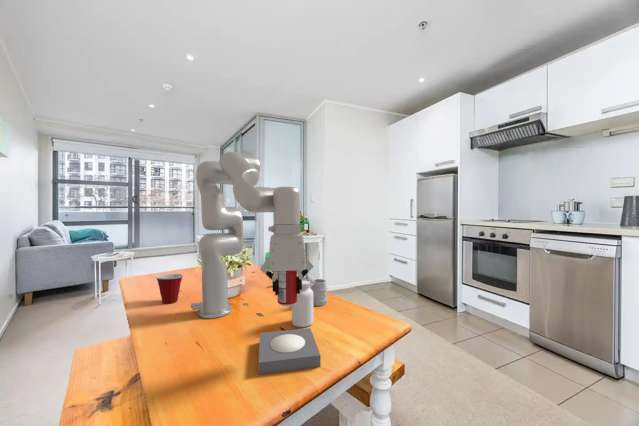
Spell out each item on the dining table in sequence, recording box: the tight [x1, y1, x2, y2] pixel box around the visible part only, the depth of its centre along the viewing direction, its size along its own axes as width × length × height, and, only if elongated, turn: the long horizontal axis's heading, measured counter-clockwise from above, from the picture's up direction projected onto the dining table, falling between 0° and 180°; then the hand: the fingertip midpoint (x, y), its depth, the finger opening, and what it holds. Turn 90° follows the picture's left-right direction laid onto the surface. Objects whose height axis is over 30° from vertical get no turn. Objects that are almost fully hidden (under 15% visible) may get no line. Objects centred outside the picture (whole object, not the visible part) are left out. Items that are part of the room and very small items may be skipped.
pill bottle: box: [291, 279, 314, 328], centre depth 96 cm, size 8×8×15 cm
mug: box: [306, 278, 329, 307], centre depth 114 cm, size 8×12×12 cm, turn 132°
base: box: [258, 327, 322, 375], centre depth 76 cm, size 16×16×3 cm
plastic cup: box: [155, 273, 184, 305], centre depth 118 cm, size 11×11×12 cm
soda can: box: [277, 271, 298, 307], centre depth 76 cm, size 6×6×12 cm
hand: (287, 292), depth 76 cm, fingers closed on soda can, 5 cm apart
